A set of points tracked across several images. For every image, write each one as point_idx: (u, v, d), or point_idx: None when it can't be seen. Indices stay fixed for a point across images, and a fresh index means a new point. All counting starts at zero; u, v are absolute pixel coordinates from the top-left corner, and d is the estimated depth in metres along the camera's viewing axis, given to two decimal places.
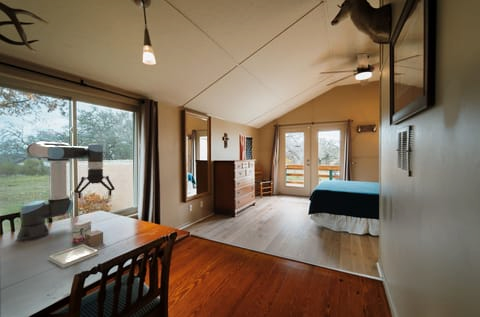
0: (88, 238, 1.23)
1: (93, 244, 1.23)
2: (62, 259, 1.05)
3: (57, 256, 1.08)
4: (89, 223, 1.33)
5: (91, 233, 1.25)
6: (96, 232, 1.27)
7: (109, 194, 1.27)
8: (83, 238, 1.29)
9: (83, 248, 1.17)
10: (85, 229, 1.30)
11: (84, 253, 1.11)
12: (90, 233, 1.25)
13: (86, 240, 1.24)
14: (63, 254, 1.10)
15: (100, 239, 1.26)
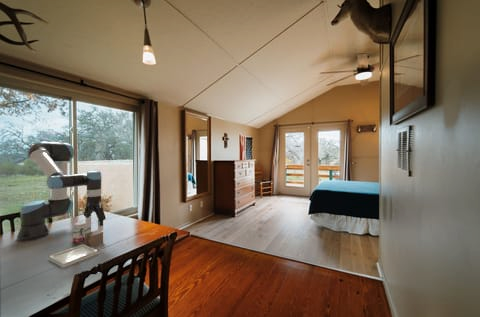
0: (88, 238, 1.23)
1: (93, 244, 1.23)
2: (62, 259, 1.05)
3: (57, 256, 1.08)
4: None
5: (91, 233, 1.25)
6: (96, 232, 1.27)
7: (99, 224, 1.22)
8: (83, 238, 1.29)
9: (83, 248, 1.17)
10: (85, 229, 1.30)
11: (84, 253, 1.11)
12: (90, 233, 1.25)
13: (86, 240, 1.24)
14: (63, 254, 1.10)
15: (100, 239, 1.26)
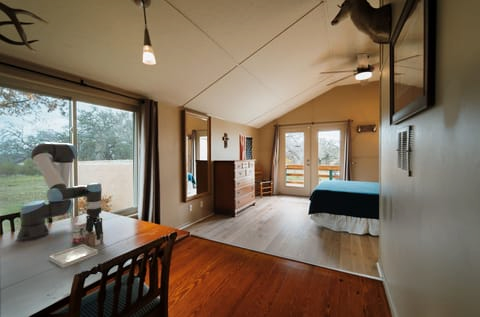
0: (88, 238, 1.23)
1: (93, 244, 1.23)
2: (62, 259, 1.05)
3: (57, 256, 1.08)
4: None
5: (91, 233, 1.25)
6: None
7: (96, 238, 1.24)
8: (83, 238, 1.29)
9: (83, 248, 1.17)
10: (85, 229, 1.30)
11: (84, 253, 1.11)
12: (90, 233, 1.25)
13: (86, 239, 1.24)
14: (63, 254, 1.10)
15: (100, 239, 1.26)
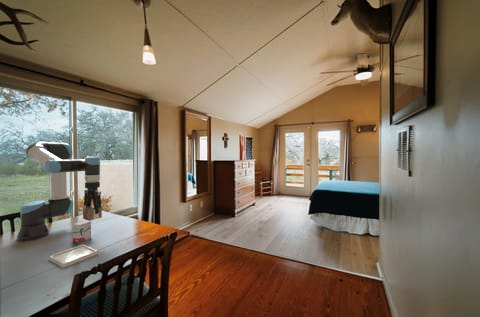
0: (87, 211, 1.21)
1: (91, 218, 1.21)
2: (62, 259, 1.05)
3: (57, 256, 1.08)
4: (89, 223, 1.33)
5: (89, 207, 1.23)
6: None
7: (95, 212, 1.22)
8: (83, 238, 1.29)
9: (83, 248, 1.17)
10: (85, 229, 1.30)
11: (84, 253, 1.11)
12: (88, 207, 1.23)
13: (84, 214, 1.22)
14: (63, 254, 1.10)
15: (99, 213, 1.24)
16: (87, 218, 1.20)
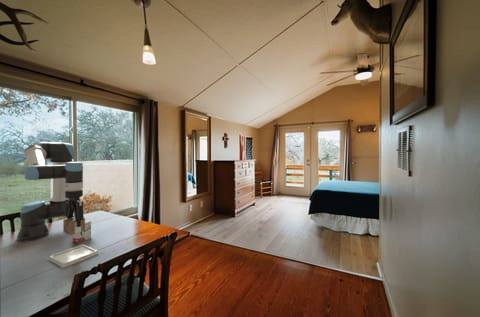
0: (67, 224, 1.06)
1: (72, 232, 1.06)
2: (62, 259, 1.05)
3: (57, 256, 1.08)
4: (89, 223, 1.33)
5: (71, 219, 1.09)
6: None
7: (76, 225, 1.07)
8: (83, 238, 1.29)
9: (83, 248, 1.17)
10: (85, 229, 1.30)
11: (84, 253, 1.11)
12: (69, 219, 1.09)
13: (64, 227, 1.07)
14: (63, 254, 1.10)
15: (81, 226, 1.10)
16: (67, 232, 1.06)
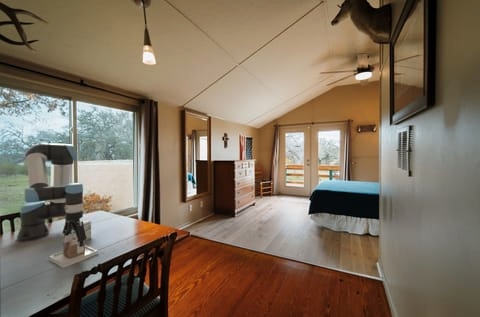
0: (67, 248, 1.06)
1: (72, 255, 1.07)
2: (62, 259, 1.05)
3: (57, 256, 1.08)
4: (89, 223, 1.33)
5: (71, 242, 1.09)
6: None
7: (79, 244, 1.06)
8: None
9: None
10: (85, 229, 1.30)
11: (84, 253, 1.11)
12: (69, 242, 1.09)
13: (64, 250, 1.08)
14: None
15: None
16: (67, 256, 1.06)
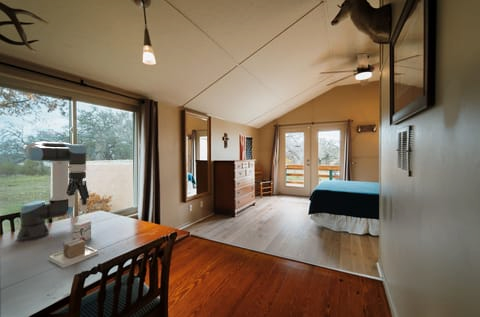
0: (67, 248, 1.06)
1: (72, 255, 1.07)
2: (62, 259, 1.05)
3: (57, 256, 1.08)
4: (89, 223, 1.33)
5: (71, 242, 1.09)
6: (77, 241, 1.11)
7: (82, 203, 1.09)
8: (83, 238, 1.29)
9: None
10: (85, 229, 1.30)
11: (84, 253, 1.11)
12: (69, 242, 1.09)
13: (64, 250, 1.08)
14: None
15: (81, 249, 1.10)
16: (67, 256, 1.06)
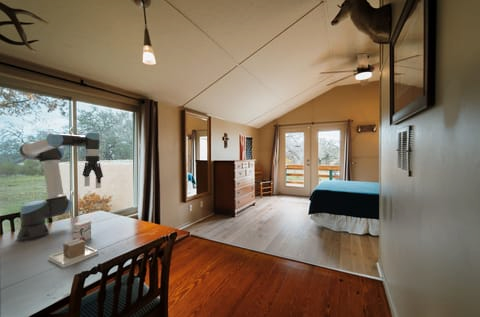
0: (67, 248, 1.06)
1: (72, 255, 1.07)
2: (62, 259, 1.05)
3: (57, 256, 1.08)
4: (89, 223, 1.33)
5: (71, 242, 1.09)
6: (77, 241, 1.11)
7: (97, 181, 1.29)
8: (83, 238, 1.29)
9: None
10: (85, 229, 1.30)
11: (84, 253, 1.11)
12: (69, 242, 1.09)
13: (64, 250, 1.08)
14: None
15: (81, 249, 1.10)
16: (67, 256, 1.06)
